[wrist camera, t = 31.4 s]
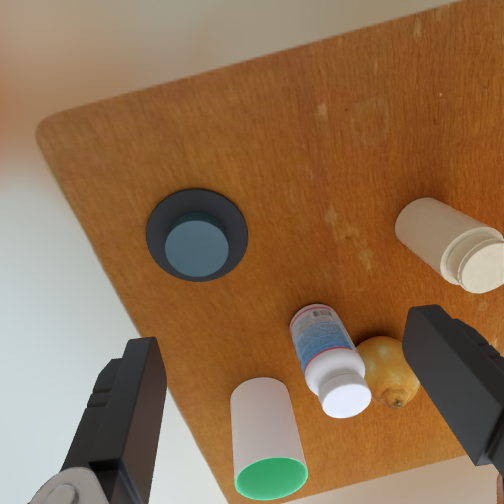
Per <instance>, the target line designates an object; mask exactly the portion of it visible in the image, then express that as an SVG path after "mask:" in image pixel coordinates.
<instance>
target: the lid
mask: <svg viewBox="0 0 504 504" xmlns="http://www.w3.org/2000/svg"><path fill="white" fill-rule="evenodd" d="M165 242H166V243H165V253H166V257H167V259H168V261H169V263H170V264H171V265H172V266H173V267H174V268H175V269H176V270H177V271H179V272H181V273H183V274H185V275H188V276H193V277H201V276H207V275H210V274H212V273H214V272H216V271H217V270H219V269H220V268H221V267H222V266H223V264H224V263H225V261H226V259H227V256H228V253H229V252H228V251H229V247H228V244H229V238H228V236H227V232H226V229H225V227H224V226H223V224H222V223H221V222H220V221H219V219H217V218H215V217H214V216H212V215H210V214H207V213H203V212H192V213H187V214H185V215H182V216H181V217H179V218H177V219H176V220H175V221H174V223H173V224H172V225H170V229H169V232H168V234H167V236H166V240H165Z"/></svg>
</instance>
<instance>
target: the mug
mask: <svg viewBox="0 0 504 504" xmlns="http://www.w3.org/2000/svg"><path fill="white" fill-rule="evenodd" d="M230 403H231V421H232V439H233V458H234V476H235V487H236V489H237V491H238V492H239V493H240V494H241V495H243V496H245V497H247V498H250V499H255V500H272V499H278V498H281V497H285V496H287V495H290V494H292V493H293V492H295V491H297V490H298V489H299V488H301V487H302V486H303V485H304V483H305V482H306V480H307V477H308V470H307V466H306V462H305V458H304V454H303V450H302V446H301V441H300V437H299V433H298V429H297V425H296V421H295V417H294V413H293V409H292V405H291V401H290V397H289V392H288V389H287V387H286V386H285V385H284V384H283V383H282V382H280V381H278V380H276V379H273V378H267V377H260V378H254V379H250V380H248V381H245V382H243V383H242V384H240V385H239V386H238V387H237V388H236V389H235V390H234V391H233V393H232V395H231V399H230Z"/></svg>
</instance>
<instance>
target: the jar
mask: <svg viewBox="0 0 504 504" xmlns="http://www.w3.org/2000/svg"><path fill="white" fill-rule="evenodd" d="M395 234H396V237H397V238H398V240H399V241H400V242H401V243H402V244H404V245H405V246H406V247H407V248H408V249H410V250H411V251H412V252H413V253H414V254H416V255H417V256H418V257H419V258H420V259H421V260H423V261H424V262H425V263H426V264H427V265H429V266H430V267H431V268H432V269H433V270H435V271H436V272H437V273H438V274H439V275H441V276H442V277H443V278H444V279H445V280H447V281H448V282H450V283H452V284H457V285H461V286H462V287H463V288H464V289H465V290H467V291H469V292H471V293H478V294H479V293H485V292H488V291H491V290H493V289H495V288H497V287H499V286H500V285H502V284H503V283H504V239H503V237H502V235H501V234H500V233H499V232H498V231H497V230H495V229H494V228H492V227H490V226H488V225H486V224H484V223H482V222H480V221H478V220H476V219H474V218H472V217H470V216H468V215H466V214H464V213H462V212H460V211H458V210H456V209H455V208H453V207H451V206H449V205H447V204H445V203H443V202H441V201H439V200H437V199H435V198H429V197H426V198H420V199H417V200H415V201H413V202H411V203H409V204H408V205H407V206H406V207H405V208H404V209H403V210H402V211H401V212H400V214H399V215H398V217H397V220H396V223H395Z"/></svg>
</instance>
